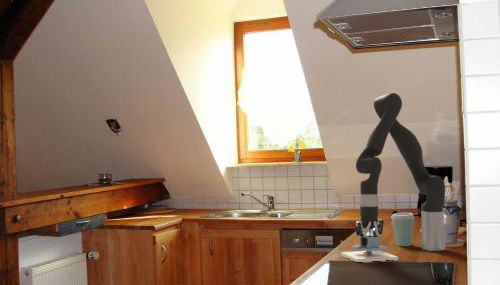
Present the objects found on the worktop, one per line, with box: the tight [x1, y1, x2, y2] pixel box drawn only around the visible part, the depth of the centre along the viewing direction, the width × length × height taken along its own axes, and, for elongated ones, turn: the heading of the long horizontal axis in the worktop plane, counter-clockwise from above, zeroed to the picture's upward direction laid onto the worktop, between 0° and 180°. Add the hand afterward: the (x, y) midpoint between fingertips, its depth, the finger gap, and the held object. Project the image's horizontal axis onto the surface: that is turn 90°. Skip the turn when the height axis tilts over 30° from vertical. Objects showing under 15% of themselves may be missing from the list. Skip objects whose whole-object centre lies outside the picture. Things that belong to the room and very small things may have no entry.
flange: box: [351, 235, 388, 251], centre depth 237 cm, size 10×10×5 cm
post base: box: [340, 250, 399, 263], centre depth 237 cm, size 18×16×6 cm
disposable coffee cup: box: [390, 212, 415, 247], centre depth 268 cm, size 11×11×15 cm
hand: (369, 245), depth 237 cm, fingers closed on flange, 5 cm apart
